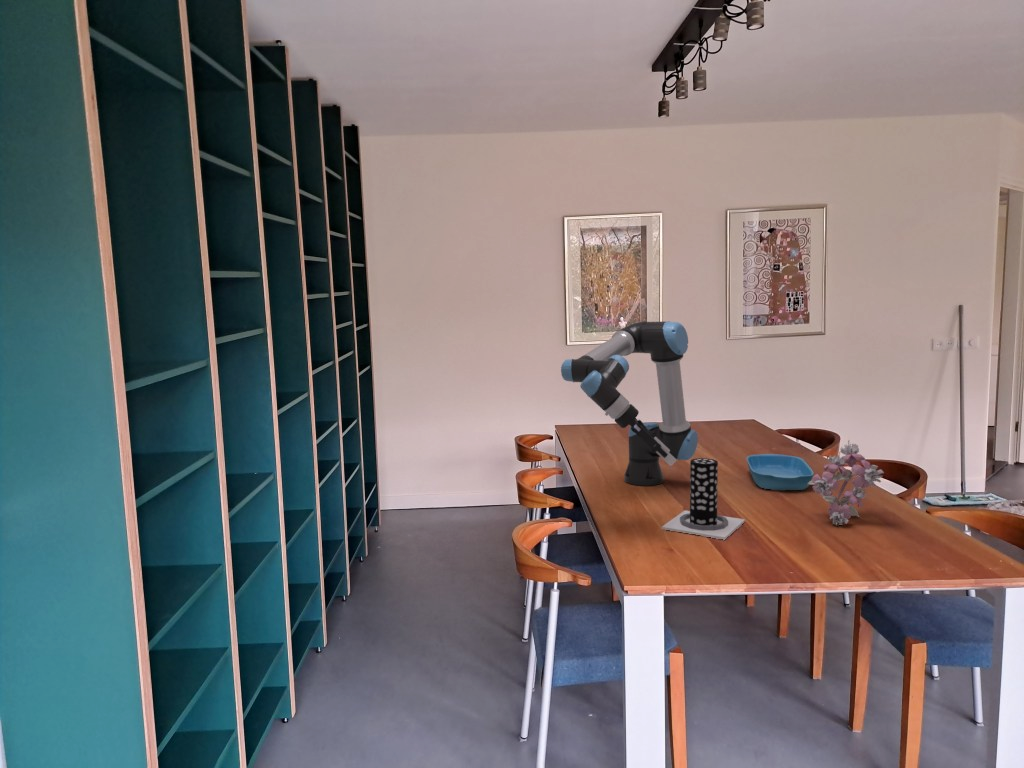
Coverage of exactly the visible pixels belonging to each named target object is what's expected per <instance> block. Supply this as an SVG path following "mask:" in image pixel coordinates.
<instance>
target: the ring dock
mask: <svg viewBox="0 0 1024 768" xmlns="http://www.w3.org/2000/svg"><path fill="white" fill-rule="evenodd" d="M745 520H746V519H744V518H739V517H731V516H724V515H720V514H718V513H717V525H697V524H692V523H690V510H686V509H685V510H683V511H682V512H681V513H679V514H678V515H676V516H675V517H673V518H672V519H670V520H669V521H668V522H666V523H665V524H663V525H662V526H661V530H662V529H665V530H664V531H666V530H670V531H669V532H671V531H677V532H683V533H689V534H696V535H702V536H706V537H711V538H710V539H712V538H716V539H715V540H718V539H723V540H722V541H724V540H725V539H726V538H727V537H728V536H729V537H731V536H732V535H733V534H734V533H735V532H736V531H737V530H738V529H739V528H740V527H742V526H743V525H744V524H745V523H744V522H746V521H745ZM743 523H744V524H743ZM742 524H743V525H742ZM736 529H737V530H736ZM735 530H736V531H735ZM734 531H735V532H734ZM677 532H676V533H677ZM733 532H734V533H733ZM683 533H682V534H683ZM732 533H733V534H732ZM689 534H688V535H689ZM731 534H732V535H731ZM730 535H731V536H730ZM706 537H705V538H706ZM729 537H728V538H729ZM728 538H727V539H728ZM727 539H726V540H727ZM726 540H725V541H726Z"/></svg>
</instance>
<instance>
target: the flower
mask: <svg viewBox="0 0 1024 768" xmlns="http://www.w3.org/2000/svg"><path fill="white" fill-rule="evenodd" d="M843 446H844V447H843ZM843 446H841V447H840V449H839V450H840V451H839V453H838V455H835V454H834V456H832V455H831V454H830V455H829V457H828V462H829V463H828V464H827V463H826V464H825V465H824V466H823V472H822V475H821V476H820V475H819V474H818V473H816V474H814V475H813V477H812V479H811V481H810V482H809V483H808V484H807V485H809V486H810V485H812V489H813V491H814V492H815V493H816V494H817V495H819V494H820V496H821V498H823V499H824V500H825V501H826V502H827V503H829V507H828V508H827V514H828V515H829V519H830V520H832V525H833V524H834V525H835V526H839V525H842V526H843V523H844V524H845V525H846V524H848V522H849V521H850V520H849V519H851V517H855V516H856V517H858V518H859V517H860V518H861V516H860V515H859V513H858V510H857V509H856V507H855V506H853V505H856V504H857V503H858V505H857V507H858V508H859V507H860V508H861V507H862V506H863V504H864V503H863V500H862V499H866V498H867V491H865V488H866V489H867V488H869V486H872V487H873V486H874V487H876V486H877V484H876V483H875V482H878V483H882V481H881V478H883V476H884V475H882V474H885V472H884V471H883V470H882V469H878V468H879V466H878V465H875V464H871V463H870V462H869V461H867V460H866V458H865V456H863V455H862V454H860V448H859V444H857V443H852V444H851V443H850V440H848V441H847V444H844V445H843ZM841 454H843V455H844V456H840V455H841ZM857 462H859V463H860V464H861V465H860V464H857ZM845 464H847V466H849V467H850V468H851V469H846V467H844V465H845ZM877 469H878V470H877ZM838 470H839V472H837V471H838ZM835 473H836V474H835ZM854 476H857V477H856V478H853V477H854ZM852 478H853V479H852ZM851 479H852V480H851ZM839 481H844V482H843V484H842V485H841V487H840V490H839V491H838V494H837V496H835V495H833V493H834V492H832V491H831V490H833V491H834V490H838V489H839ZM850 481H851V483H852V484H853V488H852V489H849V490H846V491H844V490H845V489H846V487H847V484H848V483H849V482H850ZM843 492H844V493H843ZM841 495H843V496H842V497H841Z"/></svg>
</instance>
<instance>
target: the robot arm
mask: <svg viewBox="0 0 1024 768" xmlns="http://www.w3.org/2000/svg"><path fill="white" fill-rule="evenodd" d="M688 344H689V337H688V332H687V330H686V328H685V326H684V325H683V324H682V323H680V322H678V321H676V322H675V321H670V320H669V321H639V322H634V323H631V324H629V325H627V326H625V327H623V328H620V329H619V330H617V331H615V332H614V333H613V334H612V336H611V337H610V338H609V339H608V340H606V341H604V342H603V343H601V344H600V345H598V346H596V347H594V349H592V350H590V351H588V352H587V353H585V354H583V355H582V356H580V357H579V358H575V359H574V358H568V359H565V360H564V361H563V362H562V364H561V367H560V368H561V369H560V372H561V373H560V374H561V377H562V379H563V380H564V381H566V382H572V383H580V389H581V390H582V391H583V392H584V393H585V394H586V396H587V397H588V398H590V399H591V400H592V401H593V402H594V403H595V404H596V405H598V407H600V409H602V410H603V412H605V413H604V415H605V416H607V417H608V416H609V417H610V418H611V419H612V420H614V422H615V423H616V424H617V426H619V427H620V428H621V429H624V428H627V427H628V426H629V428H628V437H627V438H628V464H627V467H626V468H625V469H626V470H625V473H624V482H625V483H627V484H629V485H633V486H634V485H635V486H640V487H641V486H644V487H645V486H649V487H650V486H657V485H660V484H661V485H662V483H664V473H663V470H662V468H661V465H660V458H661V459H662V460H663V461H664V462H665V463H666V464H667V465H669V466H670V467H672V466H673V465H674V464H675V463H676V462H677V461H682V460H683V461H688V460H689V461H690V460H692V459H693V458H692V457H694V455H695V453H696V450H697V447H698V441H699V435H698V432H697V431H696V430H694V429H692V428H691V426H692V425H691V423H690V422H689V421H688V420H687V419H686V418H687V417H686V409H685V401H684V400H685V399H684V389H683V381H682V373H681V372H682V370H681V361H682V359H683V358H684V354H686V352H687V351H688V348H689V345H688ZM631 354H649V355H650V361H651V362H653V363H654V364H655V367H656V377H657V385H658V392H659V393H658V394H659V401H660V411H661V417H662V418H661V419H662V422H661V423H660V424H659V422H656V421H648V422H647V421H646V422H643V421H642V420H640V419H637V416H638V415H639V410H638V409H637V408H636V407H635V406H634V405H633V403H632V404H631V403H630V401H629V400H628V399H627V398H626V397H625V396H624V394H622V393H621V392H619V391H618V389H617V388H618V387H619V385H621V383H622V381H623V380H624V379H625V377H626V376H627V374H628V372H629V370H630V365H629V361H628V360H627V359H626V358H625V357H626V356H629V355H631Z"/></svg>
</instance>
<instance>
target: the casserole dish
mask: <svg viewBox="0 0 1024 768" xmlns="http://www.w3.org/2000/svg"><path fill="white" fill-rule="evenodd" d="M746 463H747V467H748V469H749V473H750V474H751V476H752V479H753V481H754V483H755V484H756V485H757V486H758V487H759V488H761V489H762V488H764V490H766V489H771V490H770V491H785V490H801V491H804V490H807V488H809V486H810V485H807V484H808V483H809V482H810V481H811V480H812V478H813V476H814V475H815V472H814V471H813V469H812V468H811V466H809V464H808V463H807V462H806V460H804V459H803V458H801V457H799V456H794V455H789V454H788V455H786V454H779V453H778V454H777V453H761V454H751V455H748V456H746Z"/></svg>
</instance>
